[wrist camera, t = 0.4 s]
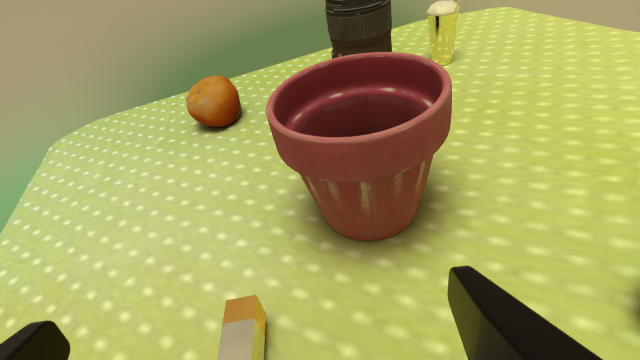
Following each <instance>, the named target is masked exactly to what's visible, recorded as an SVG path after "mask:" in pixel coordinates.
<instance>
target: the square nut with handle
mask: <svg viewBox="0 0 640 360" xmlns="http://www.w3.org/2000/svg"><path fill="white" fill-rule="evenodd" d="M265 319H266V312H265V311H264V309H263V307H262V305H261V303H260V301H259V299H258V297H257V295H253V296H247V297H242V298H237V299H231V300H226V305H225V312H224V319H223V325H222V332H221V339H220V346H219V353H218V359H217V360H264V341H265Z"/></svg>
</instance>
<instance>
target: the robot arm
mask: <svg viewBox="0 0 640 360" xmlns="http://www.w3.org/2000/svg"><path fill="white" fill-rule="evenodd" d="M448 301H449V305H450V308H451V311H452V314H453V316H454V319H455V322H456V325H457V328H458V331H459V334H460V337H461V340H462V343H463V346H464V349H465V352H466V355H467V357H468V360H603V359H601V358H600V357H598V356H597V355H595V354H594V353H593V352H591V351H590V350H588V349H587V348H586V347H584V346H583V345H581V344H580V343H578V342H577V341H576V340H574V339H573V338H571V337H570V336H569V335H567V334H566V333H564V332H563V331H561V330H560V329H559V328H557V327H556V326H554V325H553V324H552V323H550V322H549V321H547V320H546V319H544V318H543V317H542V316H540V315H539V314H537V313H536V312H535V311H533V310H532V309H530V308H529V307H528V306H526V305H525V304H523V303H522V302H520V301H519V300H518V299H516V298H515V297H513V296H512V295H511V294H509V293H508V292H506V291H505V290H503V289H502V288H501V287H499V286H498V285H496V284H495V283H494V282H492V281H491V280H489V279H488V278H486V277H485V276H484V275H482V274H481V273H479V272H478V271H477V270H475V269H474V268H472V267H470V266H460V267H453V268H451V269H450V271H449V281H448ZM69 354H70V343H69V341H68V340H67V339H66V337H65V336H64V335H63V333H62V332H61V331H60V329H59V328H58V326H57V325H56V324H55V323H54V322H52V321H40V322H33V323H30V324H28V325H27V326H25V327H24V328H22V329H21V330H20V331H18V332H17V333H15V334H14V335H13V336H11V337H10V338H8V339H7V340H5V341H4V342H3V343H1V344H0V360H68V357H69Z"/></svg>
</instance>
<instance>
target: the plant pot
mask: <svg viewBox="0 0 640 360" xmlns="http://www.w3.org/2000/svg"><path fill="white" fill-rule="evenodd" d="M451 111H452V84H451V79H450V76H449V74H448V73H447V71H446V70H445V69H444V68H443V67H442V66H441V65H439V64H438V63H436V62H434V61H432V60H430V59H427V58H424V57H421V56H417V55H412V54H406V53H396V52H372V53H361V54H353V55H347V56H343V57H338V58H334V59H330V60H327V61H324V62H321V63H318V64H315V65H313V66H310V67H308V68H306V69H304V70H302V71H300V72H298V73H296V74H294V75H293V76H291V77H290V78H288V79H287V80H285V81H284V82H283V83H282V84H281V85H279V86H278V88H277V89H276V90H275V91H274V92H273V93H272V95H271V96H270V98H269V101H268V103H267V107H266V114H267V118H268V122H269V125H270V129H271V132H272V135H273V138H274V141H275V144H276V148H277V150H278V153H279V155H280V157H281V158H282V160H283V161H284V162H285V163H286V164H287V165H288V166H289V167H290V168H292V169H293V170H294V171H296V172H298V173H299V174H300V175H301V177H302V179H303V181H304V183H305V184H306V186H307V188H308V190H309V191H310V193H311V195H312V197H313V198H314V200H315V202H316V203H317V205H318V207H319V208H320V210H321V211H322V213H323V215H324V216H325V218H326V220H327V222H328V223H329V225H330V226H331V227H332V228H333V229H334V230H335V231H336V232H338V233H339V234H341V235H343V236H345V237H347V238H351V239H355V240H360V241H374V240H380V239H385V238H388V237H391V236H393V235H396V234H398V233H400V232H401V231H402V230H404V229H405V228H406V227H407V226H408V225H409V224H410V223H411V222H412V221H413V219H414V217H415V215H416V213H417V210H418V206H419V203H420V200H421V197H422V193H423V190H424V187H425V184H426V180H427V177H428V173H429V169H430V166H431V162H432V158H433V154H434V153H435V152H436V151H437V150H438V149H439V148H440V147H441V146H442V144H443V143H444V141H445V140H446V138H447V136H448V133H449V130H450V123H451Z"/></svg>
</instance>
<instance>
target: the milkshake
mask: <svg viewBox="0 0 640 360" xmlns="http://www.w3.org/2000/svg"><path fill="white" fill-rule="evenodd" d="M459 3H460V0H459V1H458V3H457V4H456V3H455V2H453V1H438V2H436V3H434V4H432V5H431V6H430V8H429V9H428V11H427V15H428V26H429V37H430V52H431V60H432V61H434V62H436V63H438V64H439V65H441V66H442V65H447V64H450V63H451V62H452V60H453V52H454V44H455V36H456V27H457V20H458V14H459Z"/></svg>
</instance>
